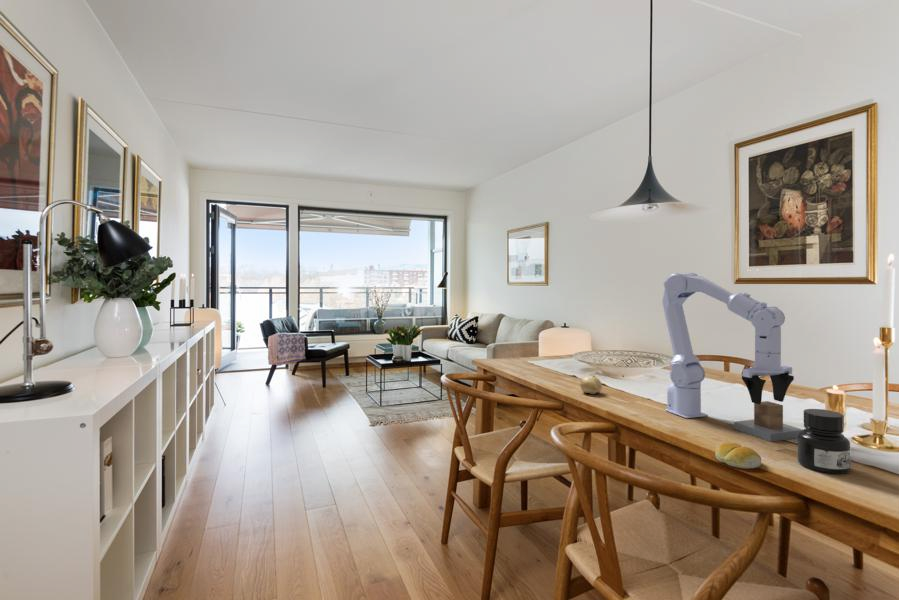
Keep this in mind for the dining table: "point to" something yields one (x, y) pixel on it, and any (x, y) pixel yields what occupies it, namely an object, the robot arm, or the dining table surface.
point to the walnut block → (768, 415)
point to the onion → (591, 385)
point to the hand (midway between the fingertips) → (767, 402)
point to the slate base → (767, 431)
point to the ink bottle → (824, 442)
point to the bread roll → (737, 456)
